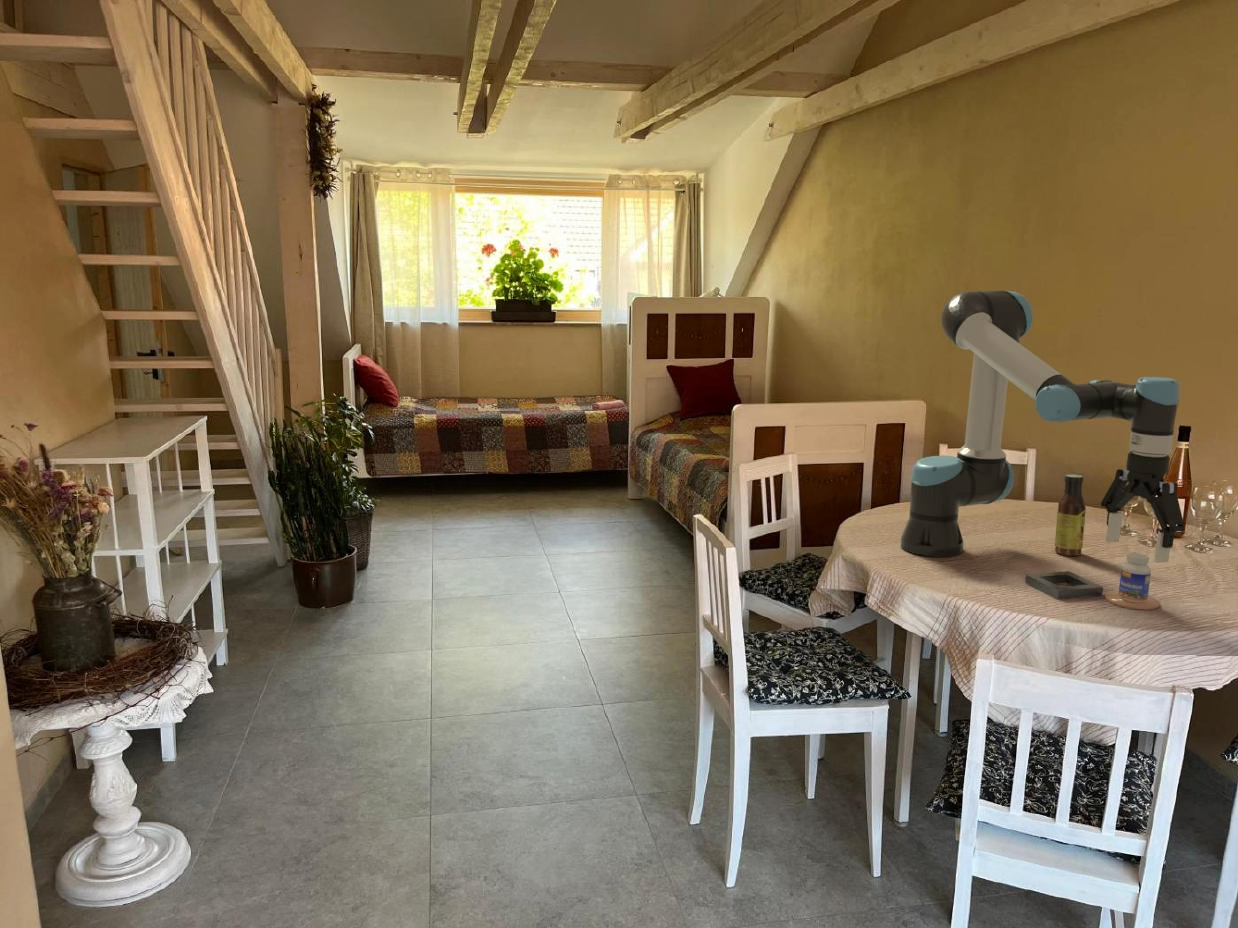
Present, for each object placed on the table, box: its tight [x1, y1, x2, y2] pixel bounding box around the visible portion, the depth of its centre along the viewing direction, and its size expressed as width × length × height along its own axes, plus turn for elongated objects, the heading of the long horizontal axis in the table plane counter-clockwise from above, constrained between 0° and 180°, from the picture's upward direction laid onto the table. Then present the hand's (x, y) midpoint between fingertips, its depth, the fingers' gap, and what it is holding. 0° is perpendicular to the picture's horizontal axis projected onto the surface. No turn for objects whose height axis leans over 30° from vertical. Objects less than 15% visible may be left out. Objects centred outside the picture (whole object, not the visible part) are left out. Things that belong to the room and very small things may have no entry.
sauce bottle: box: [1054, 473, 1087, 557], centre depth 220 cm, size 7×6×20 cm
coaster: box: [1105, 590, 1160, 611], centre depth 188 cm, size 10×10×1 cm
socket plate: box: [1024, 570, 1104, 600], centre depth 196 cm, size 11×11×2 cm
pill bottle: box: [1118, 552, 1152, 603], centre depth 187 cm, size 5×5×10 cm
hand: (1135, 551), depth 187 cm, fingers open, 13 cm apart
